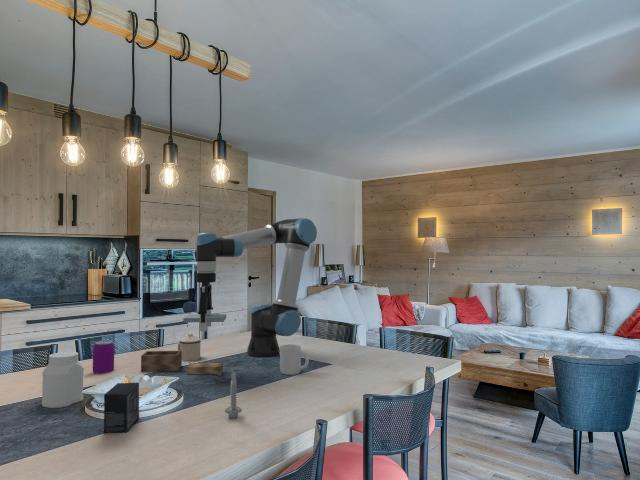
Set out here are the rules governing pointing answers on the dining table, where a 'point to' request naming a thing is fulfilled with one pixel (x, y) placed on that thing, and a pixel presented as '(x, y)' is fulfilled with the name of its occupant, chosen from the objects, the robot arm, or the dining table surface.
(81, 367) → the jar
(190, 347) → the teacup with lid
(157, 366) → the walnut box
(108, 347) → the beverage can
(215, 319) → the lid
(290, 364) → the mug
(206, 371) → the block
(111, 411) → the small box
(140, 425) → the dining table surface
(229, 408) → the screw
